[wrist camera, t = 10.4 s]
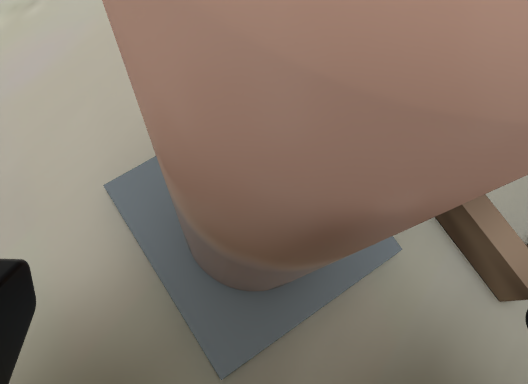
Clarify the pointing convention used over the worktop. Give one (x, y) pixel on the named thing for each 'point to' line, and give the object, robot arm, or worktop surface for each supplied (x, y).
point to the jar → (323, 120)
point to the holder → (490, 247)
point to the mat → (219, 295)
